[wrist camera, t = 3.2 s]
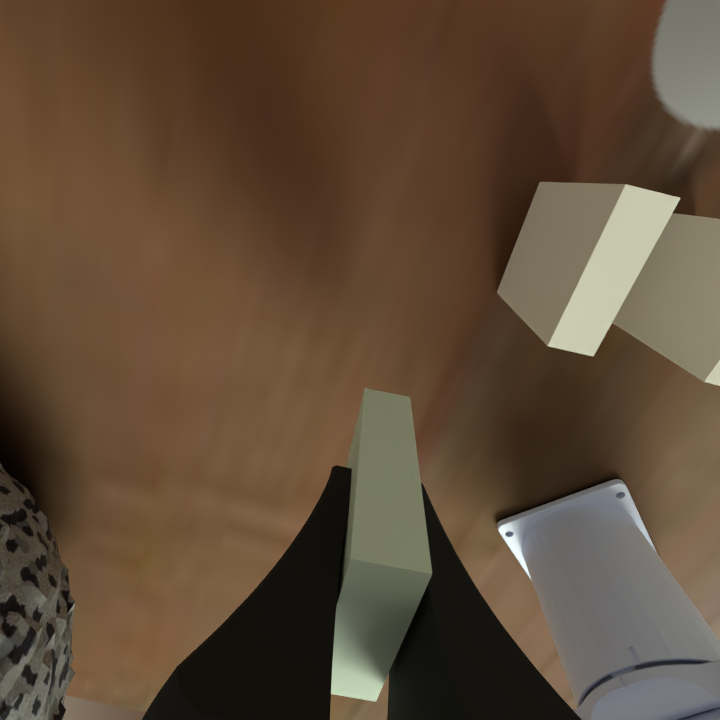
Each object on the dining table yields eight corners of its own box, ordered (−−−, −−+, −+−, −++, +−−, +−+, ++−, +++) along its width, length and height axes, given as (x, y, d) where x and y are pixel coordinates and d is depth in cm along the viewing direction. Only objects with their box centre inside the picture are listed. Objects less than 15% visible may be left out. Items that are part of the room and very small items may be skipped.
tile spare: (410, 397, 13) (432, 574, 7) (378, 500, 15) (376, 701, 9) (364, 388, 13) (349, 558, 7) (339, 493, 15) (312, 691, 9)
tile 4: (575, 190, 16) (681, 197, 10) (528, 299, 18) (593, 356, 13) (539, 181, 16) (625, 184, 10) (496, 292, 18) (547, 346, 13)
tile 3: (695, 220, 16) (865, 243, 11) (634, 324, 19) (748, 392, 13) (661, 211, 16) (812, 230, 11) (604, 317, 19) (703, 381, 13)
